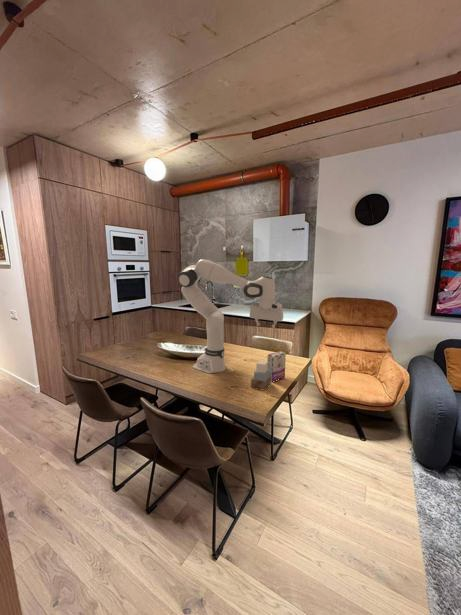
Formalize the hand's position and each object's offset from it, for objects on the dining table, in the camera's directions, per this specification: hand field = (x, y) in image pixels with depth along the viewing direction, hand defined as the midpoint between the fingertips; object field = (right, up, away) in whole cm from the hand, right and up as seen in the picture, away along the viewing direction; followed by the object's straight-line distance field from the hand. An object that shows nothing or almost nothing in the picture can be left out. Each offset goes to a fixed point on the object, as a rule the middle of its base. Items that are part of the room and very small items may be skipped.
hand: (265, 326), depth 154 cm
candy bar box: (+7, -33, +4) cm, 34 cm away
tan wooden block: (-3, -34, -4) cm, 35 cm away
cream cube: (-3, -25, -6) cm, 26 cm away
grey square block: (-3, -29, -6) cm, 30 cm away
